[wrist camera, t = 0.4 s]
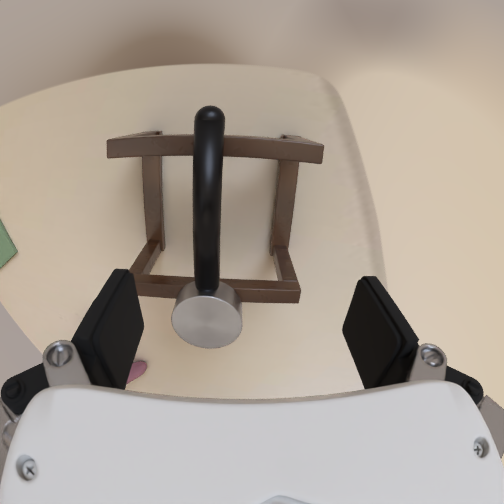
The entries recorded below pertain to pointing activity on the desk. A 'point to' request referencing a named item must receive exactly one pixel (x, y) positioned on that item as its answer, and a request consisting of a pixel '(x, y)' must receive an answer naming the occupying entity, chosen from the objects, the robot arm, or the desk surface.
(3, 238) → the mat
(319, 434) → the robot arm
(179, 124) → the desk surface
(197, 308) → the grey saucepan
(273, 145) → the rack
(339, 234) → the desk surface
